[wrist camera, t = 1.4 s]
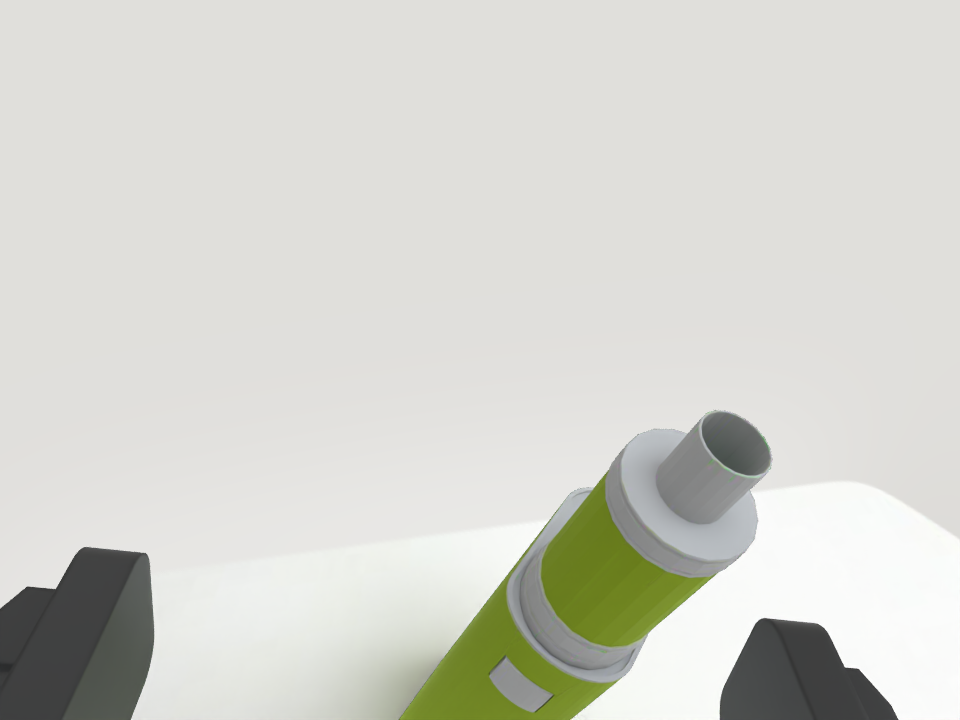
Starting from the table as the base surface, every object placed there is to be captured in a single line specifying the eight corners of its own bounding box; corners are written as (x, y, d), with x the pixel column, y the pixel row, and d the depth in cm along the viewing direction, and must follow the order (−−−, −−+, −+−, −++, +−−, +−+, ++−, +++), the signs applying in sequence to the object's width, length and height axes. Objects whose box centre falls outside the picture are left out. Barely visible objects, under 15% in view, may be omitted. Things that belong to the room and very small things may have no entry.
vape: (367, 763, 29) (616, 444, 15) (457, 638, 33) (718, 296, 19) (449, 834, 28) (793, 573, 14) (531, 697, 32) (858, 391, 18)
